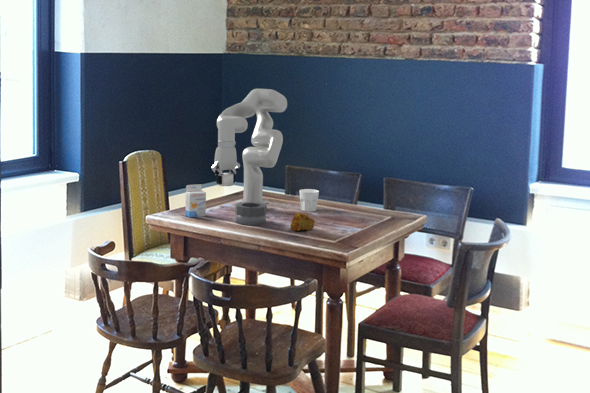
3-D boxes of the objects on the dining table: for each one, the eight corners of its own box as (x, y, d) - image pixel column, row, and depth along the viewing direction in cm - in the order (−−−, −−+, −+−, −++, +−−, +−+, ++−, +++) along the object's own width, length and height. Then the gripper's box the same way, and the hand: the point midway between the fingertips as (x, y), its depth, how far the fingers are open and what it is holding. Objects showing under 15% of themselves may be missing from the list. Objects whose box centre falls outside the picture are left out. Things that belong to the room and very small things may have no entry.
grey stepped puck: (251, 217, 314) (252, 200, 313) (272, 222, 305) (272, 205, 303) (229, 221, 304) (229, 204, 303) (249, 226, 295) (250, 209, 293)
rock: (291, 236, 297) (301, 219, 301) (307, 242, 294) (317, 224, 298) (286, 224, 288) (296, 205, 292) (303, 229, 285) (313, 211, 289)
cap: (226, 183, 308) (227, 171, 307) (236, 185, 303) (236, 173, 302) (214, 184, 303) (215, 172, 302) (224, 186, 298) (224, 174, 297)
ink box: (189, 217, 308) (189, 186, 306) (185, 215, 312) (185, 185, 310) (206, 216, 313) (206, 185, 310) (201, 214, 317) (201, 184, 314)
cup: (307, 212, 330) (308, 193, 328) (294, 209, 338) (295, 190, 336) (322, 210, 336) (323, 191, 334) (309, 207, 344) (310, 188, 342)
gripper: (235, 142, 308) (235, 180, 311) (205, 144, 296) (205, 183, 299) (246, 144, 303) (245, 182, 306) (216, 146, 291) (215, 186, 294)
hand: (225, 182), depth 303 cm, fingers closed on cap, 7 cm apart
